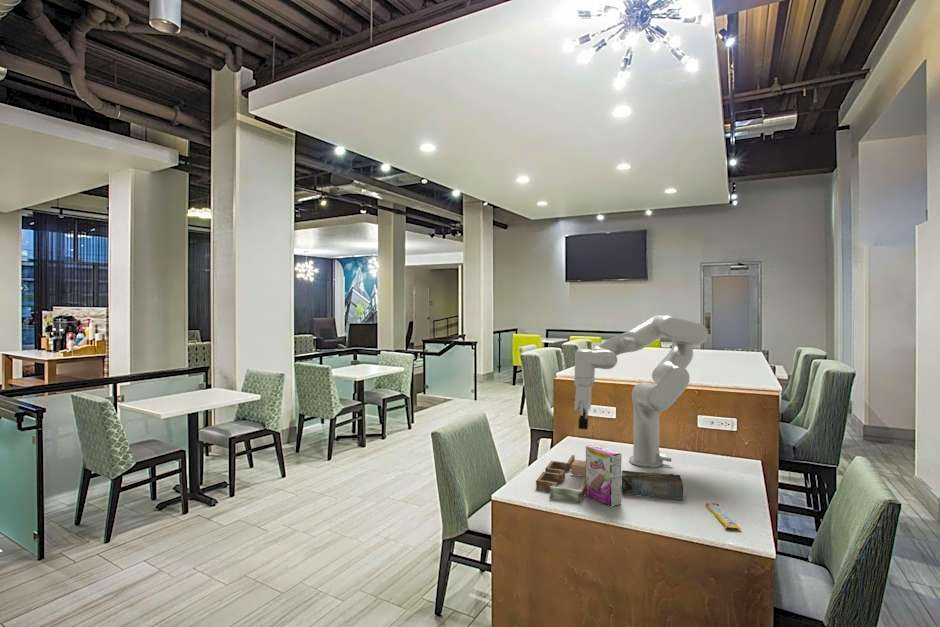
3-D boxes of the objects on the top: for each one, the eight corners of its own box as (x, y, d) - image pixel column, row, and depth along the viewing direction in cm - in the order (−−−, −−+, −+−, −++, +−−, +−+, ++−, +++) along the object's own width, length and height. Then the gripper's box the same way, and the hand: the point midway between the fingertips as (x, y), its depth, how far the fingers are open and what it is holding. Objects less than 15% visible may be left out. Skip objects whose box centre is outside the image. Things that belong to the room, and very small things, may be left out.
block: (588, 472, 185) (588, 461, 185) (585, 477, 180) (585, 466, 180) (575, 470, 187) (575, 459, 187) (571, 475, 182) (571, 464, 182)
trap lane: (598, 465, 192) (598, 456, 192) (581, 502, 157) (581, 491, 157) (557, 460, 198) (557, 451, 198) (531, 495, 163) (532, 484, 163)
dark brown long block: (621, 486, 171) (621, 467, 171) (681, 492, 166) (681, 473, 166) (621, 495, 164) (621, 475, 163) (684, 502, 158) (684, 481, 158)
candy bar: (704, 507, 154) (704, 501, 154) (718, 508, 154) (718, 502, 154) (725, 532, 138) (725, 526, 138) (741, 533, 137) (741, 526, 137)
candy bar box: (584, 495, 162) (584, 446, 162) (595, 492, 165) (595, 443, 165) (610, 507, 153) (611, 455, 153) (621, 504, 156) (622, 452, 155)
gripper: (577, 378, 199) (576, 423, 200) (570, 383, 186) (569, 432, 186) (597, 379, 197) (595, 425, 197) (591, 385, 183) (590, 434, 183)
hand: (583, 428), depth 191 cm, fingers closed
